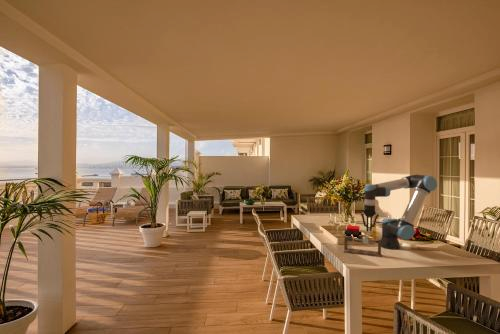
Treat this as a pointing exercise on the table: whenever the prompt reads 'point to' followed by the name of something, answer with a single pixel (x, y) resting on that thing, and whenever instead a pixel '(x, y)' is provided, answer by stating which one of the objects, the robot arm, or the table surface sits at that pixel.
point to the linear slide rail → (362, 252)
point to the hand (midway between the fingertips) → (368, 235)
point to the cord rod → (359, 239)
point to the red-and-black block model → (353, 231)
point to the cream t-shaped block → (365, 238)
